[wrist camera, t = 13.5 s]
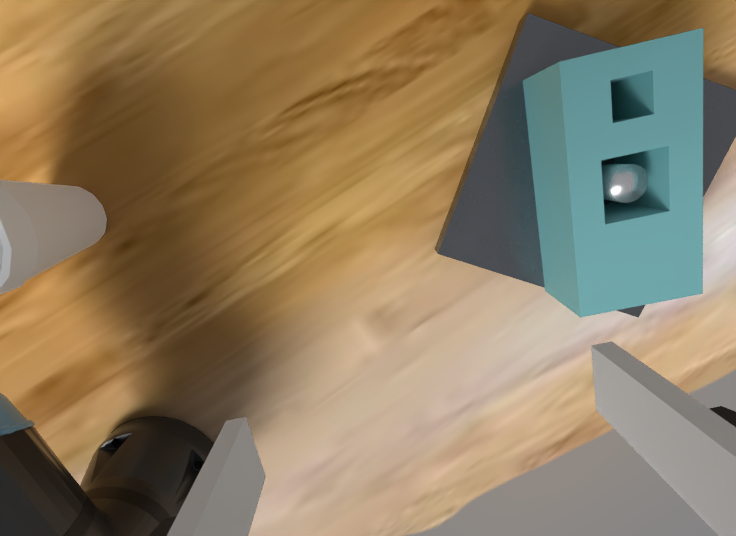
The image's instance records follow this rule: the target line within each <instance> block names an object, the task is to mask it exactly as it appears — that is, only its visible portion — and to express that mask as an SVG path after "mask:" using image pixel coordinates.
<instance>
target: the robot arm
mask: <svg viewBox="0 0 736 536" xmlns="http://www.w3.org/2000/svg"><path fill="white" fill-rule="evenodd" d="M591 351H592V364H593V376H594V389H595V402H596V410H597V411H598V412H599V413H600V414H601V415H602V416H603V417H604V419H605V420H606V421H607V422H608V423H609V424H610V425H611V426H612V427H613V428H614V429H615V430H616V431H617V432H618V433H619V434H620V435H621V436H622V437H623V438H624V439H625V440H626V441H627V442H628V443H629V444H630V445H631V446H632V447H633V448H634V449H635V450H636V451H637V452H638V453H639V454H640V455H641V456H642V457H643V458H644V459H645V461H646V462H647V463H649V465H650V466H651V467H652V468H653V469H654V470H655V471H656V472H657V473H658V474H659V475H660V476H661V477H662V478H663V479H664V480H665V481H666V482H667V483H668V484H669V485H670V486H671V487H672V488H673V489H674V490H675V491H676V492H677V493H678V494H679V495H680V496H681V497H682V498H683V499H684V500H685V501H686V503H688V505H689V506H691V508H692V509H693V510H694V511H695V512H696V513H697V514H698V515H699V516H700V517H701V518H702V519H703V520H704V521H705V522H706V523H707V524H708V525H709V526H710V527H711V528H712V529H713V530H714V531H715V532H716V533H717V534H718V535H719V536H736V412H735V411H732V410H729V409H727V408H724V407H722V406H720V407H715V408H710V409H709V408H707V407H705V406H704V405H703V404H701V403H700V402H698V401H697V400H695V399H694V398H693V397H691V396H690V395H688V394H687V393H685V392H684V391H683V390H681V389H680V388H678V387H677V386H675V385H674V384H672V383H671V382H670V381H668V380H667V379H665V378H664V377H662V376H661V375H659V374H658V373H657V372H655V371H654V370H652V369H651V368H649V367H648V366H646V365H645V364H644V363H642V362H641V361H639V360H638V359H636V358H635V357H633V356H632V355H631V354H629V353H628V352H626V351H625V350H623V349H622V348H620V347H619V346H618V345H616V344H615V343H613V342H607V343H602V344H597V345H592V346H591ZM34 425H35V424H34V422H32V421H31V420H27V419H26V418H25V417H24V416H23V415H22V414H21V413H20V412H19V411H18V410H17V408H16V407H15V406H14V405H13V404H12V403H11V402H10V401H9V400H8V398H7V397H5V396H4V395H3V394H1V393H0V536H248V534H249V531H250V528H251V524H252V521H253V517H254V514H255V511H256V507H257V504H258V501H259V497H260V494H261V490H262V487H263V484H264V480H265V477H266V476H265V473H264V470H263V467H262V464H261V461H260V458H259V455H258V452H257V449H256V446H255V443H254V440H253V437H252V434H251V431H250V428H249V425H248V422H247V419H246V417H242V418H237V419H232V420H227V421H226V422H225V424H224V426H223V428H222V430H221V431H220V433H219V435H218V437H217V439H216V441H215V443H214V445H213V443H212V442H211V441H210V440H209V439H208V438H207V437H206V436H205V435H204V434H202V433H201V432H200V431H198V430H197V429H195V428H194V427H192V426H190V425H188V424H186V423H183V422H181V421H178V420H174V419H170V418H165V417H144V418H138V419H135V420H131V421H129V422H127V423H125V424H123V425H121V426H120V427H118V428H117V429H116V430H114V431H113V432H112V433H111V434H110V435H109V436H108V437H107V439H106V440H105V441H104V442H103V443H102V444H101V445H100V446H99V447H98V449H97V450H96V452H95V453H94V455H93V457H92V459H91V462H90V464H89V466H88V469H87V471H86V473H85V475H84V478H83V480H82V482H81V485H80V486H79V484H78V483H77V482H76V481H75V479H74V478H73V477H72V476H71V474H70V473H69V472H68V470H67V469H66V468H65V467H64V465H63V464H62V463H61V461H60V460H59V459H58V458H57V456H56V455H55V454H54V452H53V451H52V450H51V448H50V447H49V446H48V445H47V443H46V442H45V441H44V439H43V438H42V437H41V436H40V434H39V433H38V432H37V430H36V429H35V428H34V427H33V426H34Z"/></svg>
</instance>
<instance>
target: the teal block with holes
mask: <svg viewBox="0 0 736 536" xmlns="http://www.w3.org/2000/svg"><path fill="white" fill-rule="evenodd" d="M523 88H524V97H525V107H526V116H527V125H528V135H529V144H530V154H531V163H532V172H533V182H534V191H535V201H536V210H537V219H538V229H539V238H540V248H541V257H542V266H543V276H544V285H545V291H546V292H547V293H549V294H550V295H551V296H553V297H554V298H555V299H557V300H558V301H559V302H561V303H562V304H563V305H565V306H566V307H567V308H569V309H570V310H571V311H573V312H574V313H575V314H577V315H578V316H579V317H584V316H590V315H595V314H600V313H605V312H610V311H615V310H620V309H625V308H631V307H636V306H641V305H646V304H651V303H656V302H661V301H667V300H672V299H677V298H682V297H687V296H692V295H697V294H703V28H701V29H697V30H692V31H688V32H684V33H680V34H675V35H671V36H667V37H663V38H658V39H654V40H650V41H646V42H641V43H637V44H633V45H628V46H624V47H620V48H616V49H611V50H607V51H603V52H599V53H594V54H590V55H586V56H582V57H577V58H573V59H569V60H565V61H560V62H558V63H556V64H554V65H552V66H550V67H548V68H546V69H544V70H542V71H540V72H538V73H536V74H534V75H533V76H531V77H529V78H527V79H525V80H523ZM610 158H614V164H636V165H639V166H641V167H642V168H643V169H644V170H645V171H646V173H647V175H648V185H647V188H646V190H645V192H644V193H643V195H642V196H641V197H640V198H638V199H637V200H635V201H633V202H629V203H623V202H617V201H616V202H613V203H609V204H604V199H603V183H602V166H601V160H606V159H610Z"/></svg>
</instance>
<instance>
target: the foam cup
mask: <svg viewBox="0 0 736 536" xmlns="http://www.w3.org/2000/svg"><path fill="white" fill-rule="evenodd" d="M106 224H107V218H106V214H105V211H104V208H103V205H102V204H101V203H100V202H99V201H98V199H97V198H96V197H95V196H94V195H93V194H92V193H90V192H88V191H87V190H85V189H83V188H81V187H78V186H68V185H56V184H44V183H32V182H20V181H8V180H0V294H3V293H5V292H8V291H11V290H13V289H16V288H18V287H21V286H22V285H23V284H24V282H25V281H27V280H28V279H30V278H32V277H34V276H36V275H38V274H40V273H42V272H43V271H45V270H47V269H49V268H51V267H53V266H55V265H56V264H58V263H60V262H62V261H64V260H66V259H68V258H69V257H71V256H73V255H75V254H77V253H79V252H81V251H83V250H84V249H86V248H88V247H90V246H92V245H94V244H95V243H97V242H98V241H99V240H100V238H101V237H102V236H103V235H104V233H105V230H106Z"/></svg>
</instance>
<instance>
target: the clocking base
mask: <svg viewBox="0 0 736 536" xmlns="http://www.w3.org/2000/svg"><path fill="white" fill-rule="evenodd" d="M616 48H620V47H618V46H615V45H613V44H610V43H607V42H605V41H602V40H599V39H597V38H594V37H591V36H589V35H586V34H583V33H580V32H578V31H575V30H572V29H570V28H567V27H564V26H562V25H559V24H556V23H554V22H551V21H548V20H546V19H543V18H540V17H537V16H535V15H532V14H529V13H528V14H527V15H526V16H525V17H524V18H523V19H521V20H520V22H519V24H518V27H517V30H516V33H515V35H514V38H513V41H512V43H511V46H510V49H509V51H508V54H507V57H506V59H505V62H504V65H503V67H502V70H501V73H500V75H499V78H498V81H497V83H496V86H495V89H494V92H493V94H492V97H491V100H490V102H489V105H488V108H487V110H486V113H485V116H484V118H483V121H482V124H481V126H480V129H479V132H478V134H477V137H476V140H475V142H474V145H473V148H472V151H471V153H470V156H469V159H468V161H467V164H466V167H465V169H464V172H463V175H462V177H461V180H460V183H459V185H458V188H457V191H456V193H455V196H454V199H453V201H452V204H451V207H450V210H449V212H448V215H447V218H446V220H445V223H444V226H443V228H442V231H441V234H440V236H439V239H438V242H437V244H436V247H435V250H436V252H437V253H438V254H440V255H444V256H447V257H450V258H453V259H456V260H459V261H462V262H466V263H469V264H472V265H475V266H478V267H481V268H485V269H488V270H491V271H494V272H497V273H500V274H503V275H507V276H510V277H513V278H516V279H519V280H522V281H526V282H529V283H532V284H535V285H538V286H541V287H544V288H545V285H544V276H543V266H542V257H541V248H540V238H539V229H538V219H537V210H536V201H535V191H534V182H533V172H532V163H531V154H530V144H529V135H528V125H527V116H526V107H525V97H524V88H523V80H525V79H527V78H529V77H531V76H533V75H534V74H536V73H538V72H540V71H542V70H544V69H546V68H548V67H550V66H552V65H554V64H556V63H558V62H560V61H565V60H569V59H573V58H577V57H582V56H586V55H590V54H594V53H599V52H603V51H607V50H611V49H616ZM735 137H736V90H734V89H731V88H728V87H726V86H723V85H720V84H718V83H715V82H712V81H709V80H707V79H704V78H703V196H704V195H705V193H706V191H707V189H708V187H709V185H710V183H711V182H712V180H713V178H714V176H715V174H716V172H717V170H718V169H719V167H720V165H721V163H722V161H723V159H724V157H725V155H726V154H727V152H728V150H729V148H730V146H731V144H732V142H733V141H734V139H735ZM601 166H602V183H603V199H604V204H609V203H613V202H616V201H617V202H623V203H629V202H633V201H635V200H637V199H638V198H640V197H641V196H642V195H643V193H644V192H645V190H646V188H647V185H648V175H647V173H646V171H645V170H644V169H643V168H642V167H641V166H639V165H636V164H614V158H610V159H606V160H601ZM644 306H645V305H641V306H636V307H631V308H625V309H620V310H617V311H620V312H623V313H627V314H630V315H633V316H636V317H639V315H640V314H641V312H642V310H643V308H644Z"/></svg>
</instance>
